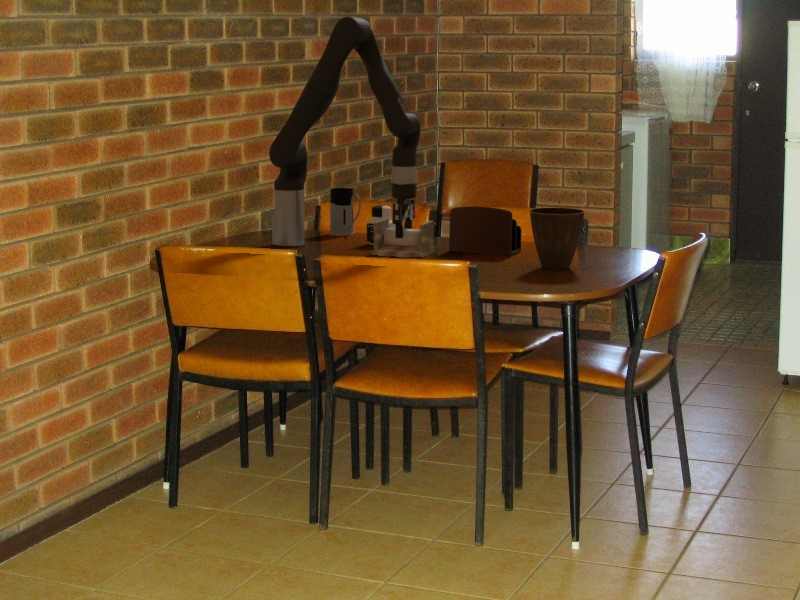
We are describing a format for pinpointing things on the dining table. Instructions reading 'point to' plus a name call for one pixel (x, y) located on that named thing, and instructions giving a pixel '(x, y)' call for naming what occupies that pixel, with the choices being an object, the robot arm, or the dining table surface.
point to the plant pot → (556, 235)
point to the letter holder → (484, 231)
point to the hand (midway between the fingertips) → (403, 236)
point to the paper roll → (409, 238)
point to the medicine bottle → (377, 215)
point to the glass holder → (342, 212)
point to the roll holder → (400, 251)
